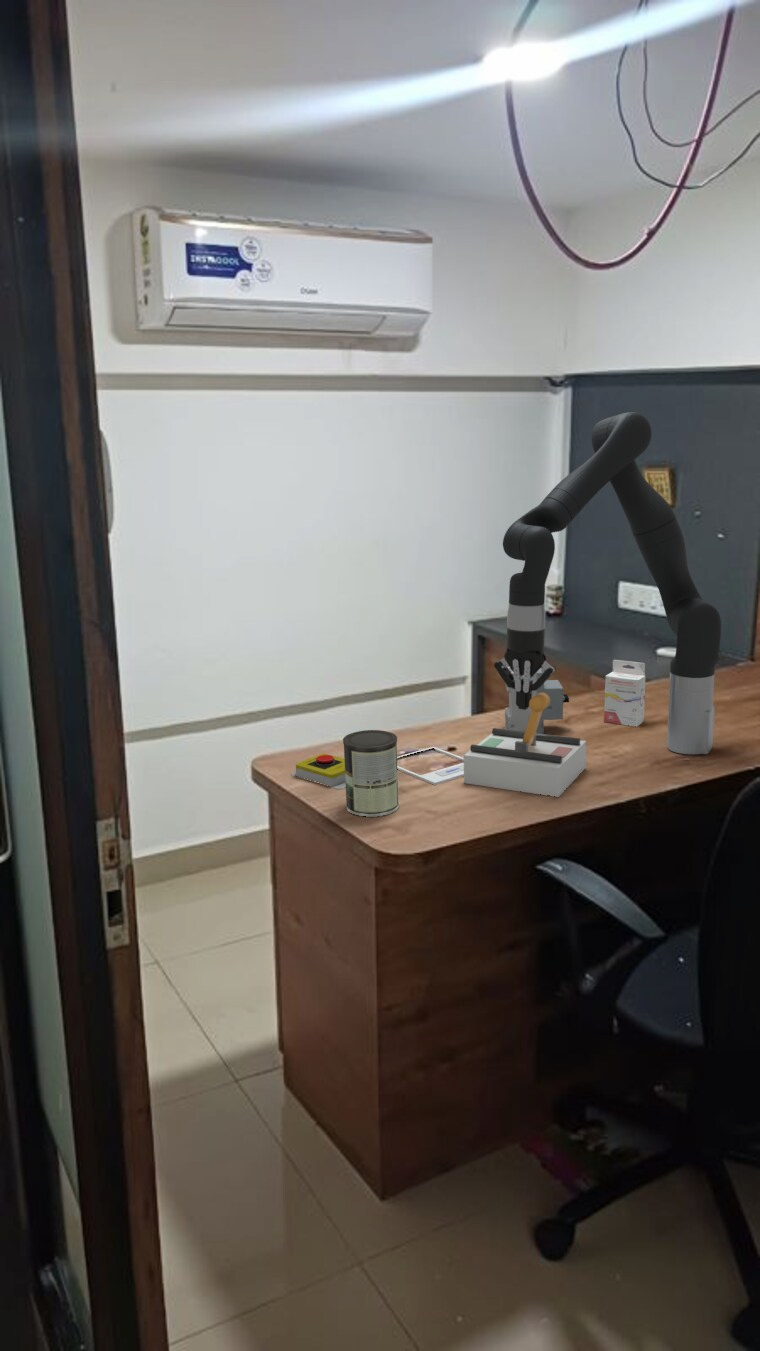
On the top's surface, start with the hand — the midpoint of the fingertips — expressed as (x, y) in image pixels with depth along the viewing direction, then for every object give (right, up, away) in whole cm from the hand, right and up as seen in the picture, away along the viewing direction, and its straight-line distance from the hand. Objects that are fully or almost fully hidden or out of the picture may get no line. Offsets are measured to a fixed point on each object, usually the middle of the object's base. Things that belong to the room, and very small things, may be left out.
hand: (523, 708), depth 204 cm
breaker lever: (+1, -8, +2) cm, 8 cm away
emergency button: (-40, -15, +7) cm, 43 cm away
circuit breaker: (+8, -7, +33) cm, 34 cm away
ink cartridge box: (+29, -5, +37) cm, 47 cm away
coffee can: (-31, -19, -11) cm, 38 cm away
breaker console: (+1, -14, +3) cm, 14 cm away
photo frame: (-18, -13, +11) cm, 25 cm away
